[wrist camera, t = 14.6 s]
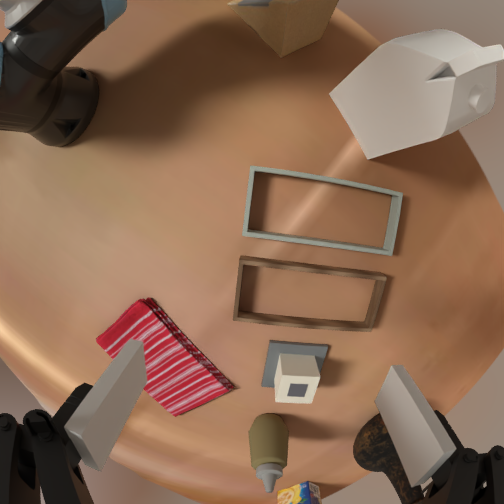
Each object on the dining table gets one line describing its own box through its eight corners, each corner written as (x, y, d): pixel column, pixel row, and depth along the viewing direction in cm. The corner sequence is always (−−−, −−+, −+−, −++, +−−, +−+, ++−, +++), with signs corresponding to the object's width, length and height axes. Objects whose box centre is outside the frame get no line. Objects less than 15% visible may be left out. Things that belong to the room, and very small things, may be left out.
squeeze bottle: (273, 403, 48) (276, 477, 30) (294, 423, 49) (302, 491, 32) (241, 418, 49) (234, 488, 32) (263, 436, 50) (263, 502, 33)
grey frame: (243, 232, 40) (242, 235, 38) (251, 166, 38) (250, 165, 35) (385, 252, 40) (391, 255, 38) (395, 192, 38) (402, 193, 35)
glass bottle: (394, 442, 52) (425, 519, 25) (336, 446, 51) (356, 539, 24) (427, 395, 48) (478, 477, 20) (367, 398, 47) (409, 505, 20)
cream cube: (274, 379, 45) (275, 402, 39) (279, 353, 44) (282, 375, 38) (306, 381, 45) (311, 404, 39) (314, 355, 44) (320, 377, 38)
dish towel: (148, 290, 43) (142, 296, 41) (236, 384, 47) (235, 393, 45) (96, 334, 46) (90, 341, 44) (175, 412, 50) (172, 421, 48)
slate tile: (261, 383, 46) (261, 386, 46) (269, 339, 44) (269, 342, 43) (313, 387, 46) (314, 389, 46) (327, 344, 44) (328, 346, 43)
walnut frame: (234, 313, 43) (232, 320, 41) (240, 255, 41) (239, 259, 38) (366, 325, 43) (371, 331, 41) (380, 272, 41) (386, 277, 38)
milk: (386, 71, 33) (481, -2, 8) (421, 131, 35) (542, 105, 10) (328, 94, 35) (407, -3, 9) (367, 159, 37) (493, 139, 12)
